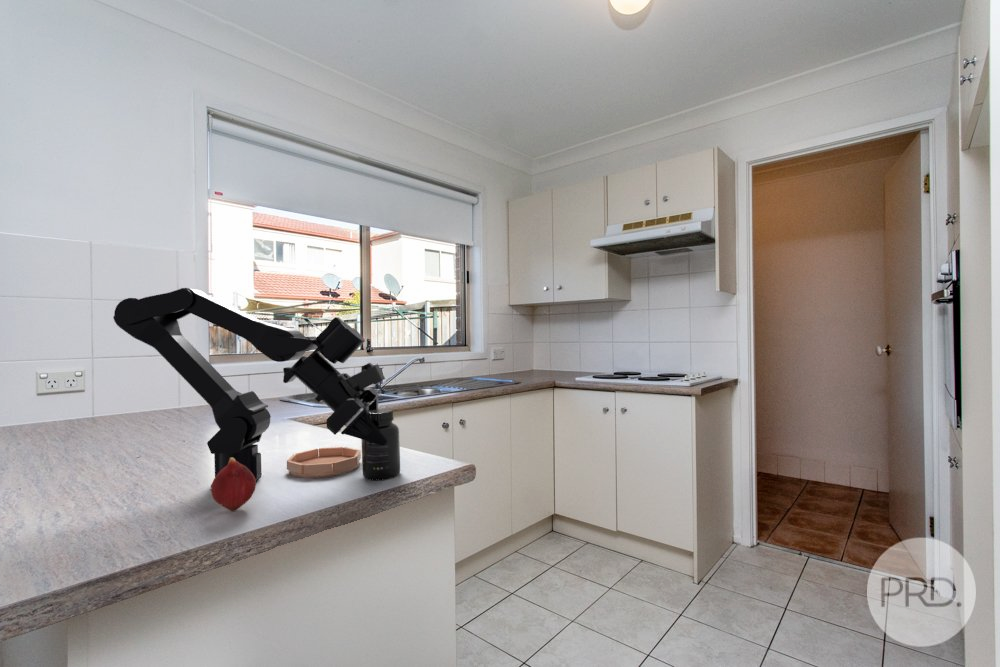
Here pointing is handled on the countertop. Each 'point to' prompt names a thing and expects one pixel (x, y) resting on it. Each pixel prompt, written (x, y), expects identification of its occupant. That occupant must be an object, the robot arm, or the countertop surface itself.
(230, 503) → the onion
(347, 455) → the terracotta saucer
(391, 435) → the supplement bottle
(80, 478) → the countertop surface
